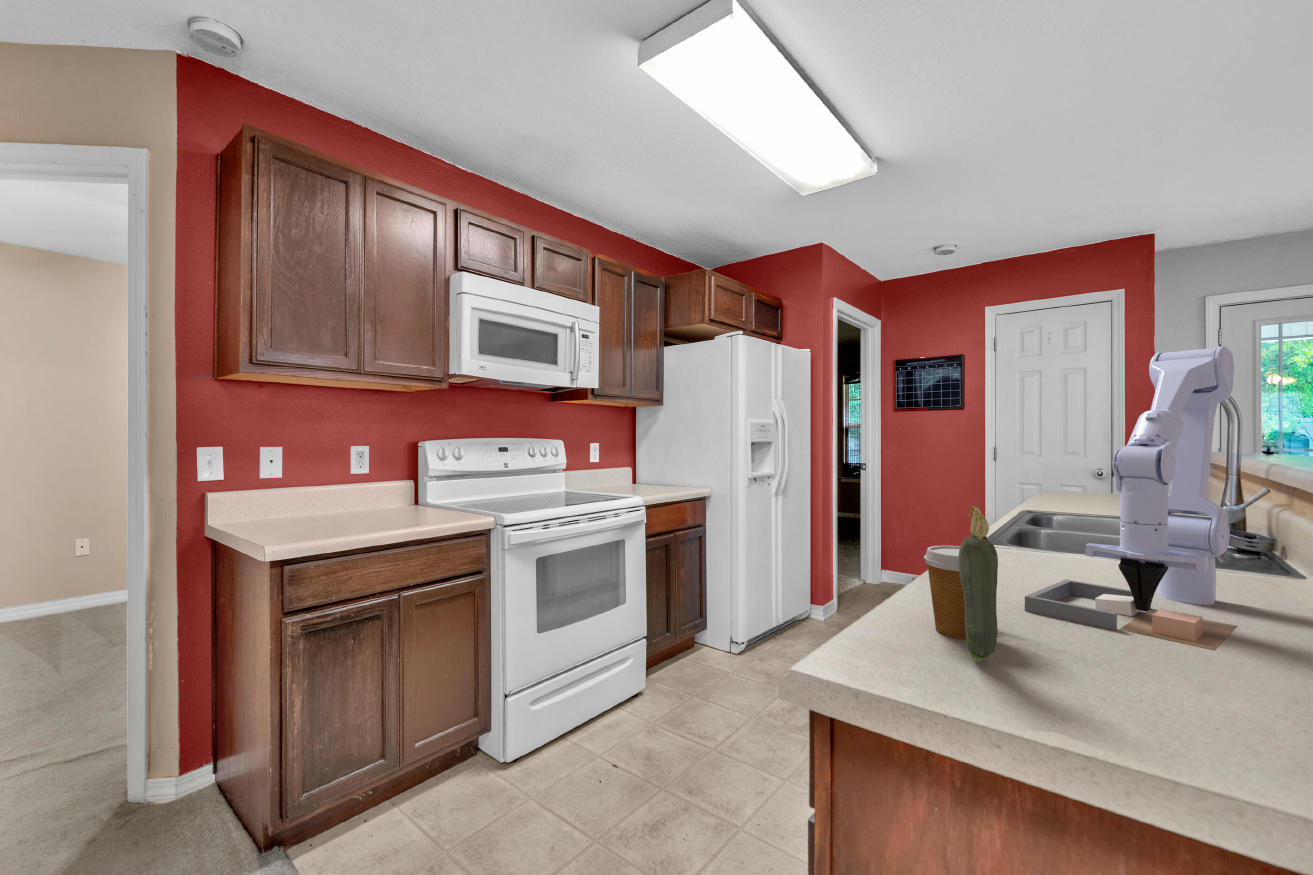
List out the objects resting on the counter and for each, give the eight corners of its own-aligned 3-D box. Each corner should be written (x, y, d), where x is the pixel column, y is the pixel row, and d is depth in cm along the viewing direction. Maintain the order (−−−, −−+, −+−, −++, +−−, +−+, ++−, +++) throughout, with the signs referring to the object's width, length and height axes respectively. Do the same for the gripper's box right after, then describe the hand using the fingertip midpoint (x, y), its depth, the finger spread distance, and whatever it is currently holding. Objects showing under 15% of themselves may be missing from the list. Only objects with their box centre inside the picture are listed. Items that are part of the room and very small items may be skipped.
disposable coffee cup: (991, 648, 78) (991, 560, 78) (916, 633, 84) (917, 552, 84) (1000, 629, 86) (1000, 549, 86) (931, 617, 92) (931, 542, 92)
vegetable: (1003, 671, 71) (1003, 509, 71) (964, 668, 72) (965, 508, 72) (989, 657, 75) (990, 505, 75) (953, 654, 76) (954, 504, 76)
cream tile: (1105, 609, 95) (1103, 593, 95) (1139, 613, 92) (1138, 597, 92) (1096, 614, 92) (1094, 598, 93) (1132, 618, 89) (1130, 602, 89)
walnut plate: (1149, 616, 92) (1149, 609, 92) (1237, 633, 84) (1237, 625, 84) (1118, 637, 83) (1118, 629, 83) (1214, 659, 75) (1214, 649, 75)
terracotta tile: (1160, 625, 84) (1160, 608, 84) (1202, 634, 81) (1202, 616, 81) (1152, 632, 82) (1152, 614, 82) (1194, 641, 78) (1195, 622, 78)
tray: (1065, 598, 102) (1066, 579, 102) (1149, 615, 93) (1149, 593, 93) (1024, 617, 92) (1024, 596, 92) (1114, 638, 82) (1114, 614, 82)
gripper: (1079, 519, 93) (1078, 603, 93) (1201, 531, 81) (1200, 626, 81) (1093, 515, 97) (1093, 595, 97) (1211, 526, 86) (1211, 617, 86)
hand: (1143, 609), depth 90 cm, fingers closed
